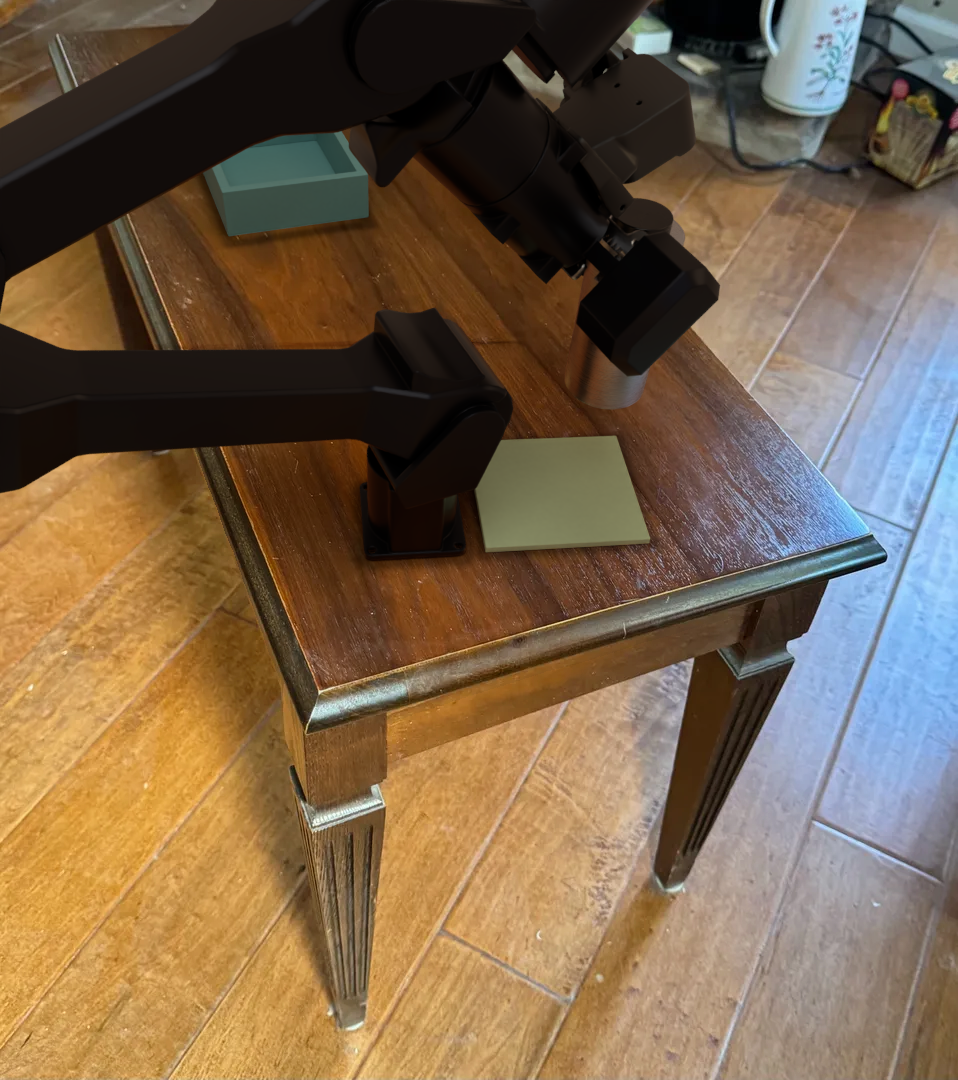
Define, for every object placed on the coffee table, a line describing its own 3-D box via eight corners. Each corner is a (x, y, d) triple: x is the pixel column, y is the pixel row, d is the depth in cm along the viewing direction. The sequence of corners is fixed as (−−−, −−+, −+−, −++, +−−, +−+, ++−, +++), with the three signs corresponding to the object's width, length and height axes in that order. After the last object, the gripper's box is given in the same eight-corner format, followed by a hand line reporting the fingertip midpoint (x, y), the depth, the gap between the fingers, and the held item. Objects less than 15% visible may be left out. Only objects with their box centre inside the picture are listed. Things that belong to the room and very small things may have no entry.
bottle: (577, 413, 59) (613, 241, 50) (554, 361, 62) (584, 191, 53) (654, 405, 60) (704, 236, 51) (628, 355, 63) (670, 187, 54)
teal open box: (368, 224, 86) (368, 174, 82) (229, 244, 82) (222, 192, 78) (322, 143, 95) (319, 95, 91) (195, 157, 91) (187, 108, 88)
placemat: (649, 543, 62) (650, 538, 62) (485, 552, 61) (485, 547, 61) (615, 440, 69) (616, 435, 69) (465, 446, 67) (466, 440, 67)
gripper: (746, 101, 38) (849, 286, 50) (522, -57, 48) (653, 127, 60) (548, 308, 41) (691, 434, 53) (378, 117, 51) (530, 259, 63)
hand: (640, 301), depth 57 cm, fingers closed on bottle, 5 cm apart
